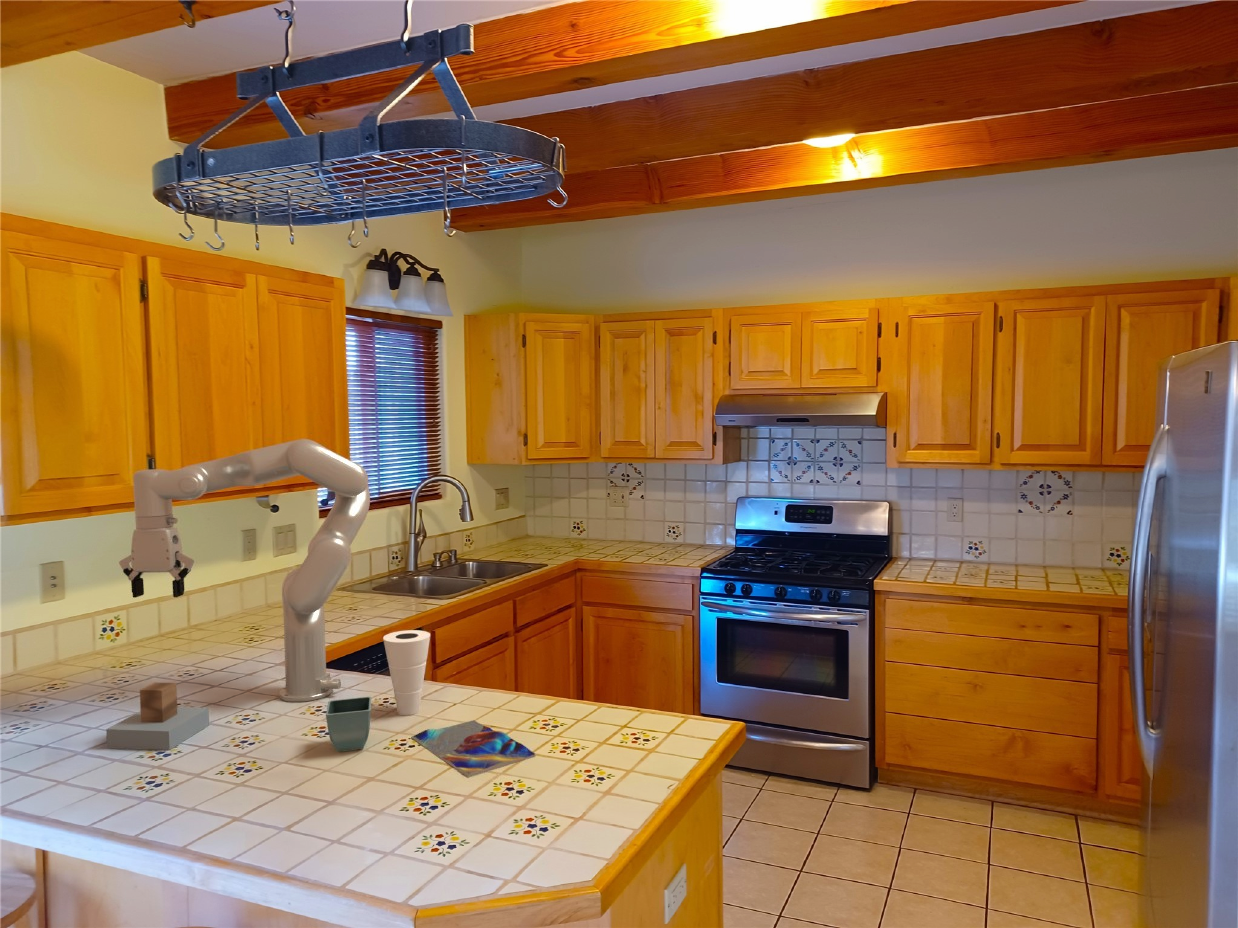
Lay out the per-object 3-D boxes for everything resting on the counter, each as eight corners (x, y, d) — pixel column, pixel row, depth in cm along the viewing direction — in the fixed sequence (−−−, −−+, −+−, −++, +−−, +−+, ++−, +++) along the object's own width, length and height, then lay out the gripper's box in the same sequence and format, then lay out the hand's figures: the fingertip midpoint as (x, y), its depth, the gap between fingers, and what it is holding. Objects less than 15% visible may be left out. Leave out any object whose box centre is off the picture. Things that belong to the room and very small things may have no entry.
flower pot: (326, 757, 170) (325, 714, 169) (329, 741, 178) (328, 699, 178) (371, 752, 172) (370, 709, 172) (372, 736, 181) (371, 695, 180)
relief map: (411, 740, 180) (410, 731, 180) (474, 724, 189) (473, 715, 189) (468, 780, 160) (468, 770, 160) (535, 759, 170) (535, 749, 169)
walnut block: (177, 714, 184) (176, 682, 183) (162, 722, 179) (161, 690, 178) (156, 713, 184) (154, 682, 184) (141, 721, 179) (139, 689, 179)
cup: (441, 709, 197) (439, 634, 196) (406, 723, 188) (404, 644, 187) (410, 700, 203) (408, 627, 202) (375, 714, 194) (373, 637, 193)
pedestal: (209, 725, 188) (208, 707, 188) (169, 749, 174) (168, 731, 174) (150, 723, 189) (150, 705, 189) (107, 747, 175) (106, 729, 175)
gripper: (199, 520, 196) (203, 592, 197) (129, 521, 197) (133, 592, 198) (181, 524, 188) (185, 599, 189) (107, 525, 189) (111, 600, 190)
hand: (158, 596), depth 194 cm, fingers open, 9 cm apart
